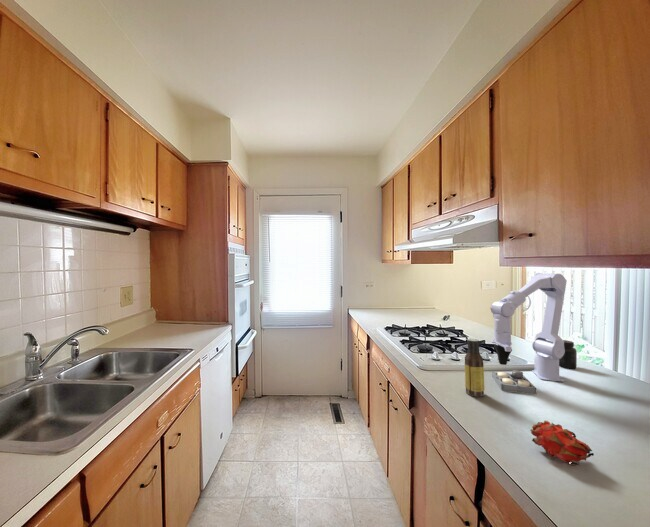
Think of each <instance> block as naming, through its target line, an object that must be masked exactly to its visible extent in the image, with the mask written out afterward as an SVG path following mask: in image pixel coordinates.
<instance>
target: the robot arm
mask: <svg viewBox="0 0 650 527" xmlns="http://www.w3.org/2000/svg"><path fill="white" fill-rule="evenodd" d="M566 286H567V279H566V277H565V276H564V274H562V273H543V272H538V273H537V272H536V273H535V274H534V275H533V276H531V277H530V280H529V281H527V283H526V284H524V285H523V286H522V287H521V288H520V289H519V290H511V291H509V294H507V295H505V297H502V298H501V299H500V300H495V301H494V302H493V303H491V307H490V311H491V313H492V317H493V319H494V321H493V322H494V326H493V330H494V331H493V332H494V334H493V335H494V337H493V338H494V340H492V339H491V340H490V342H491V343H492V344H493V347H494V350H495V352H496V355H497V359H498V363H499V365H502V366H504V365H505V366H507V364H508V360H509V358H510V357H509V356H510V354H511V353H512V351H513V348H512V344H513V343H512V324H511V323H512V320H511V319H512V318H511V317H512V316H513V315H515V312H516V310H517V308H518V307H519V306H521V305H522V304H524V303H525V302H526V300H527V299H526V298H527V297H529V296H530V295H532V294H533V293H535V292H536V291H538V290H540V291H542V292H543V293H544V294H545V295H546V296H547V297H546V298H547V299H546V303H545V304H546V305H545V310H544V316H543V321H542V322H543V323H542V328H541V332H538V333H536V334H535V338H534V340H533V341H532V345H531V346H532V350H533V351H535V356H534V358H533V360H534V369H532V370H531V372H532V373H533V374H534V375H535V376H536V377H538V379H539V380H542V381H544V380H545V381H552V382H562V383H563V382H565V379H563V378H561V377H560V366H559V359H561V357H563V355H564V353H565V349H564V341H563V340H564V339H562V338H561V337H560V336H559V331H560V326H561V319H562V312H563V307H564V306H563V305H564V300H565V294H566V288H567V287H566ZM495 344H496V345H495Z"/></svg>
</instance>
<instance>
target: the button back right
mask: <svg viewBox="0 0 650 527" xmlns="http://www.w3.org/2000/svg"><path fill="white" fill-rule="evenodd" d="M497 372H498V373H497V376H498V377H503V378H508V374H507V373H508V372H502V371H497Z"/></svg>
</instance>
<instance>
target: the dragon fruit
mask: <svg viewBox="0 0 650 527" xmlns="http://www.w3.org/2000/svg"><path fill="white" fill-rule="evenodd" d="M530 434H531V435H532V436H534V437H533V438H532V440H531V441H532V442H533V443H534V444H535V445H536V446H538V447H539V446H541V447H542V448H543V449H544V451H545V453H546V454H548V455H549V457H550V459H551V460H554V459H555V458H558V459H559V460H561V461H563V462H564V463H567V465H569V462H570V461H571V462H572V463H571V465H570V466H580V463H578V462H580V461H587V459H588V458H590V457H592V456H593V457H594V455H595V454H594V453H593V449H591V447H590V446H589V445H588V444H587V443H586V442H584V441H582V440H580V439H578V438H577V435H576V434H575V433H574V431H570V430H569V429H568V428H564V429H563V426H562V425H561V424H559V423H557V424H554V422H549V421H548V420H543V421H541V422H540V421H538V422H537V423H535V424H533V425H532V428H531V429H530Z"/></svg>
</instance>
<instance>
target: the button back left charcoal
mask: <svg viewBox="0 0 650 527" xmlns="http://www.w3.org/2000/svg"><path fill="white" fill-rule="evenodd" d="M511 374H512V377H514V378H518V379H522V378H523V375H524V372H523V371H520V370H516V369H513V370H511Z"/></svg>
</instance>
